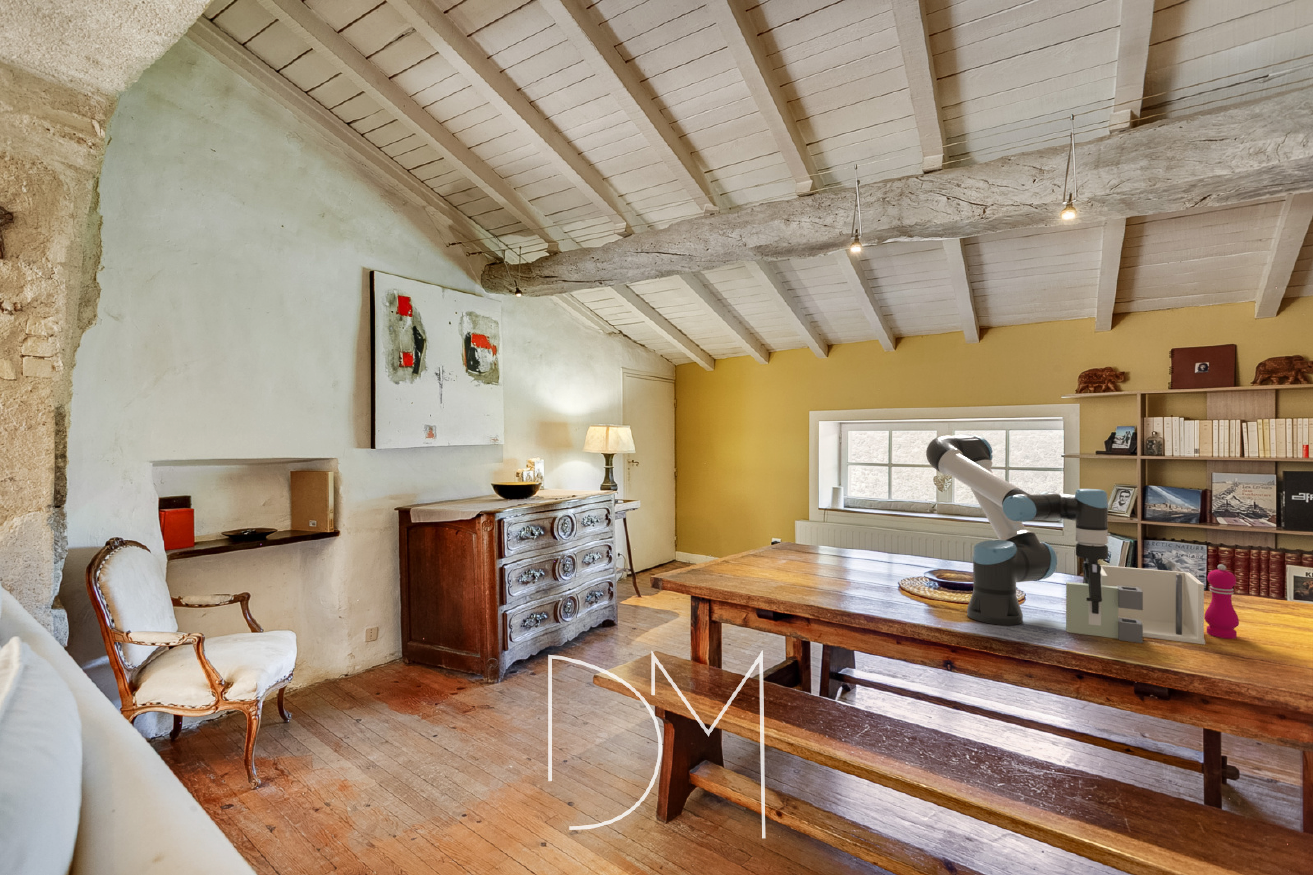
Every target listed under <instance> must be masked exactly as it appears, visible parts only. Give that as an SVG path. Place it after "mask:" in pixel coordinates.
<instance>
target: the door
mask: <svg viewBox="0 0 1313 875" xmlns="http://www.w3.org/2000/svg"><path fill="white" fill-rule="evenodd" d="M1065 585H1066V586H1065V601H1066V602H1065V610H1066V611H1065V630H1066V633H1072V634H1080V635H1089V636H1095V637H1103V638H1109V639H1111V638H1112V639H1117V640H1119V641H1123V642H1130V643H1139V644H1144V639H1143V638H1144V637H1143V625H1142V623H1141V622H1140V620H1137V619H1128V618H1120V617H1118V607H1119V608H1126V609H1136V610H1143V592H1142V590H1141V589H1140V588H1138V587H1127V586H1117V585H1116V586H1106V585H1101V596H1102V601H1101V626H1099V625H1091V624H1089V601H1086V599H1087V598H1089V586H1088V584H1085V583H1083V582H1072V581H1065Z"/></svg>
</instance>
